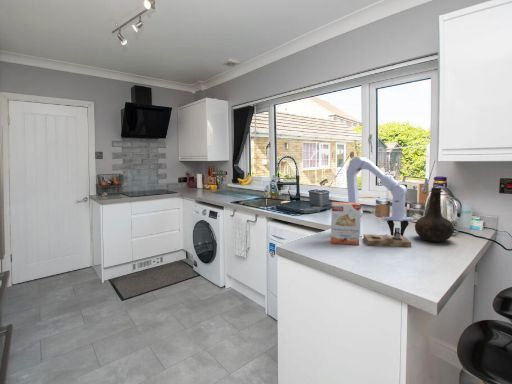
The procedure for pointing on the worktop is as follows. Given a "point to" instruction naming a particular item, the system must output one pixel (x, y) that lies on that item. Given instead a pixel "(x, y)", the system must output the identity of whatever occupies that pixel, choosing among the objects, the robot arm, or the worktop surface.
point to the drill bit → (397, 234)
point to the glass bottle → (434, 221)
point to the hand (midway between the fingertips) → (396, 235)
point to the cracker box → (345, 223)
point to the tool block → (386, 241)
